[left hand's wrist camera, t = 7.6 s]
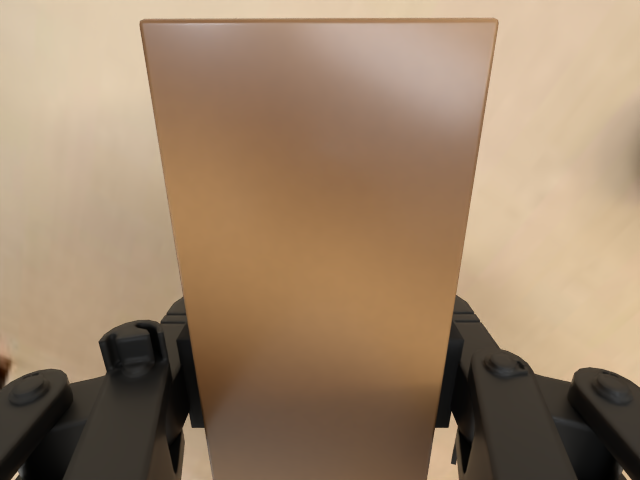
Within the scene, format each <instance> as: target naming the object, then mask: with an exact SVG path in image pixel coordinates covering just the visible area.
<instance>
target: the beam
mask: <svg viewBox="0 0 640 480" xmlns="http://www.w3.org/2000/svg"><path fill="white" fill-rule="evenodd" d="M497 30H498V20H497V19H495V18H290V19H143V20H141V21H140V31H141V37H142V43H143V49H144V55H145V62H146V68H147V74H148V80H149V86H150V93H151V99H152V105H153V111H154V117H155V124H156V130H157V136H158V142H159V148H160V155H161V161H162V167H163V173H164V179H165V185H166V192H167V198H168V204H169V210H170V216H171V223H172V229H173V235H174V241H175V247H176V254H177V260H178V266H179V272H180V278H181V285H182V291H183V297H184V303H185V309H186V316H187V322H188V328H189V334H190V340H191V346H192V353H193V359H194V365H195V371H196V377H197V384H198V390H199V396H200V402H201V408H202V415H203V421H204V427H205V433H206V439H207V446H208V452H209V458H210V464H211V470H212V477H213V480H427V475H428V468H429V462H430V456H431V449H432V443H433V437H434V430H435V424H436V417H437V411H438V405H439V398H440V392H441V386H442V379H443V373H444V367H445V360H446V354H447V348H448V341H449V335H450V329H451V322H452V316H453V309H454V303H455V297H456V290H457V284H458V278H459V271H460V265H461V259H462V252H463V246H464V240H465V233H466V227H467V220H468V214H469V208H470V201H471V195H472V189H473V182H474V176H475V170H476V163H477V157H478V151H479V144H480V138H481V132H482V125H483V119H484V112H485V106H486V100H487V93H488V87H489V81H490V74H491V68H492V62H493V55H494V49H495V43H496V36H497Z"/></svg>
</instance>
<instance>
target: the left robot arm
mask: <svg viewBox="0 0 640 480" xmlns="http://www.w3.org/2000/svg"><path fill="white" fill-rule="evenodd" d="M99 345H100V349H101V352H102V356H103V360H104V363H105V367H106V370H107V373H106V375H105V376H102V377H98V378H94V379H89V380H85V381H80V382H76V383H71V384H69V381H68V378H67V375H66V374H65V373H64V372H63V371H61V370H56V369H46V370H39V371H36V372H32V373H29V374H26V375H24V376H22V377H20V378H18V379H16V380H14V381H12V382H10V383H9V384H8V385H6V386H5V387H4V388H2V389H1V390H0V480H11V479H12V477H13V476H14V475H15V474H16V472H17V471H18V472H19V475H18V477H17V478H16V479H15V480H181V475H182V465H183V455H184V445H185V440H184V434H183V429H182V428H183V425H184V423H185V420H186V418H187V416H188V413H189V415H190V420H191V426H192V428H205V427H204V421H203V415H202V408H201V402H200V396H199V390H198V384H197V377H196V371H195V365H194V359H193V353H192V346H191V340H190V334H189V328H188V322H187V316H186V309H185V303H184V297H182V298H181V299H179V300H178V301H177V302H175V303H174V304H173V305H172V306H171V308H170V309H169V311H168V312H167V315H165V316H164V318H163V319H162V321H161V324H159V323H158V322H155V321H151V320H137V321H133V322H128V323H125V324H122V325H120V326H118V327H115V328H113V329H112V330H110V331H109V332H107V333H106V334H104V336H103V337H102V338H101V339H100V341H99ZM451 411H452V413H453V415H454V418H455V420H456V423H457V425H458V429H457V434H456V439H455V444H454V449H453V454H452V461H451V464H455V465H456V461H457V464H458V474H459V480H627V479H626V478H625V477H624V475H623V474H622V471H623V469H624V471H625V472H626V473H627V474H628V476H629V477H630V478H631V479H632V480H640V387H638V386H637V385H636V384H634V383H633V382H632V381H630V380H628V379H626V378H624V377H622V376H620V375H618V374H616V373H613V372H610V371H607V370H604V369H598V368H591V367H589V368H582V369H579V370H578V371H576V372H575V373H574V376H573V379H572V382H567V381H562V380H558V379H553V378H549V377H544V376H541V375H537V374H534V372H533V370H532V369H531V367H530V366H529V365H528V363H527V362H525V361H524V360H523V359H521V358H520V357H519V356H517V355H515V354H513V353H511V352H508V351H505V350H501V349H500V348H499V346H498V345H497V344H496V342H495V341H494V339H493V338H492V337H491V335H490V334H489V332H488V331H487V330H486V328H485V327H484V325H483V324H482V323H480V320H479V319H478V317H477V316H476V314H474V312H473V310H472V309H471V307H470V306H469V305H468V303H467V302H466V301H464V300H463V299H461V298H460V297H458V296H457V295H456V297H455V303H454V309H453V316H452V322H451V329H450V335H449V341H448V348H447V354H446V360H445V367H444V373H443V379H442V386H441V392H440V398H439V405H438V411H437V417H436V424H435V428H448V427H449V422H450V416H451Z"/></svg>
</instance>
